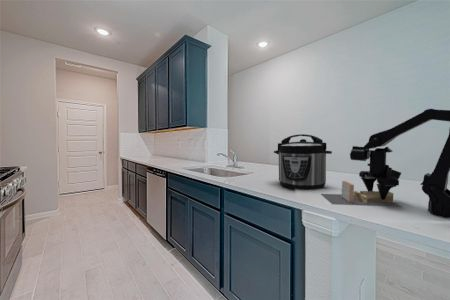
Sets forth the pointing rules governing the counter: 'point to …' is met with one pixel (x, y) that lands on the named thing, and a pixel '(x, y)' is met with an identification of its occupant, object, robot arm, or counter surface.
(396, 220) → the counter surface
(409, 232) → the counter surface
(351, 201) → the terracotta tile
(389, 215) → the counter surface
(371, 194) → the beech scraper
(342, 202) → the charcoal mat
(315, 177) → the pressure cooker
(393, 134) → the robot arm
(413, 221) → the counter surface
